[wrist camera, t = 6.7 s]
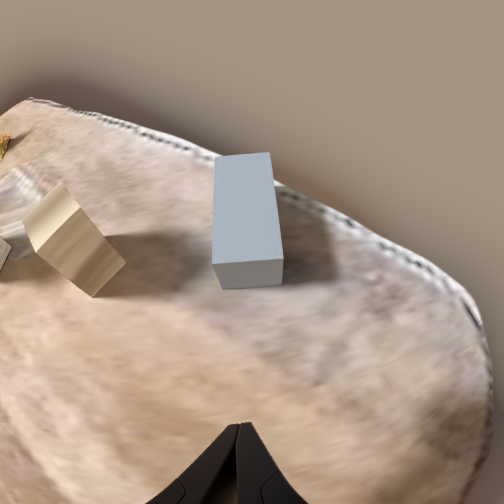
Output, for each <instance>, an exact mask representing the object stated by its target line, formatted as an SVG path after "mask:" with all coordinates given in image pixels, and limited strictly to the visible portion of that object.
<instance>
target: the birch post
mask: <svg viewBox="0 0 504 504" xmlns="http://www.w3.org/2000/svg"><path fill="white" fill-rule="evenodd" d="M22 222H23V225H24V227H25V230H26V232H27V234H28V237H29V239H30V241H31V244H32V246H33V248H34V250H35V252H36V253H37V254H38V255H39V256H40V257H41V258H43V259H44V260H45V261H46V262H47V263H48V264H50V265H51V266H52V267H53V268H54V269H56V270H57V271H58V272H59V273H61V274H62V275H63V276H64V277H66V278H67V279H68V280H70V281H71V282H72V283H73V284H75V285H76V286H77V287H79V288H80V289H81V290H83V291H84V292H85V293H87V294H88V295H89V296H91V297H92V298H93V296H94V295H95V294H96V293H97V292H98V291H99V290H100V289H101V288H102V287H103V286H104V285H105V284H106V283H107V282H108V281H109V280H110V279H111V278H112V277H113V276H114V275H115V274H116V273H117V272H118V271H119V270H120V269H121V268H122V267H123V266H124V265H125V264H126V263H127V262H126V261H125V260H124V259H123V258H122V257H121V255H120V254H119V253H118V252H117V251H116V250H115V249H114V247H113V246H112V245H111V244H110V243H109V242H108V240H107V239H106V238H105V237H104V236H103V234H102V233H101V232H100V231H99V230H98V228H97V227H96V226H95V225H94V223H93V222H92V221H91V220H90V218H89V217H88V216H87V215H86V213H85V212H84V211H83V210H82V208H81V207H80V206H79V204H78V203H77V202H76V201H75V199H74V198H73V197H72V195H71V194H70V193H69V191H68V190H67V189H66V187H65V186H64V185H63V183H62V182H59V183H58V184H57V185H56V186H55V187H54V188H53V189H52V190H51V191H50V192H49V193H48V194H47V195H46V196H45V197H44V198H43V199H42V200H41V201H40V202H39V203H38V204H37V205H36V206H35V207H34V208H33V209H32V210H31V211H30V212H29V213H28V214H27V215H26V216H25V217H24V218H23V219H22Z"/></svg>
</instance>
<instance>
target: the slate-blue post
mask: <svg viewBox="0 0 504 504" xmlns="http://www.w3.org/2000/svg"><path fill="white" fill-rule="evenodd" d="M283 260H284V258H283V249H282V241H281V233H280V225H279V217H278V210H277V202H276V195H275V187H274V180H273V173H272V166H271V159H270V153H255V154H242V155H231V156H222V157H215V176H214V204H213V244H212V265H213V267H214V270H215V272H216V275H217V277H218V279H219V282H220V284H221V287H222V289H236V288H251V287H264V286H277V285H282V274H283Z"/></svg>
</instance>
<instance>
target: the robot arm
mask: <svg viewBox="0 0 504 504" xmlns="http://www.w3.org/2000/svg"><path fill="white" fill-rule="evenodd" d="M145 504H308V503H307V502H306V501H305V500H304V499H303V498H302V497H301V496H300V495H299V494H298V493H297V492H296V491H295V490H294V489H293V488H292V486H291V485H290V484H289V482H288V481H287V480H286V478H285V477H284V475H283V474H282V472H281V471H280V469H279V468H278V466H277V465H276V463H275V461H274V460H273V458H272V457H271V455H270V453H269V452H268V450H267V448H266V447H265V445H264V443H263V442H262V440H261V438H260V437H259V435H258V433H257V431H256V430H255V428H254V426H253V424H252V423H251V422H245V423H241V424H230V425H228V426H227V427H226V428H225V429H224V431H223V432H222V433H221V434H220V435H219V436H218V437H217V438H216V439H215V440H214V441H213V442H212V443H211V444H210V446H209V447H208V448H207V449H206V450H205V451H204V452H203V453H202V454H201V455H200V456H199V457H198V458H197V459H196V460H195V461H194V462H193V463H192V464H191V465H190V466H189V467H188V468H187V469H186V470H185V471H184V472H183V473H182V474H181V475H180V476H179V477H178V478H176V479H175V480H174V481H173V482H172V483H171V484H170V485H169V486H168V487H166V488H165V489H164V490H163V491H162V492H160V493H159V494H158V495H157V496H155V497H154V498H153V499H151V500H150V501H148V502H147V503H145Z"/></svg>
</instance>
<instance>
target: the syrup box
mask: <svg viewBox="0 0 504 504" xmlns="http://www.w3.org/2000/svg"><path fill="white" fill-rule="evenodd" d="M11 248H12V247H11V246H10V245H9V244H8V243H7V242H6V241H5V240H4V239H3V238H2V237H1V236H0V270H1V268H2V266H3V264H4V262H5V260H6V258H7V256H8V254H9V252H10V250H11Z"/></svg>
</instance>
